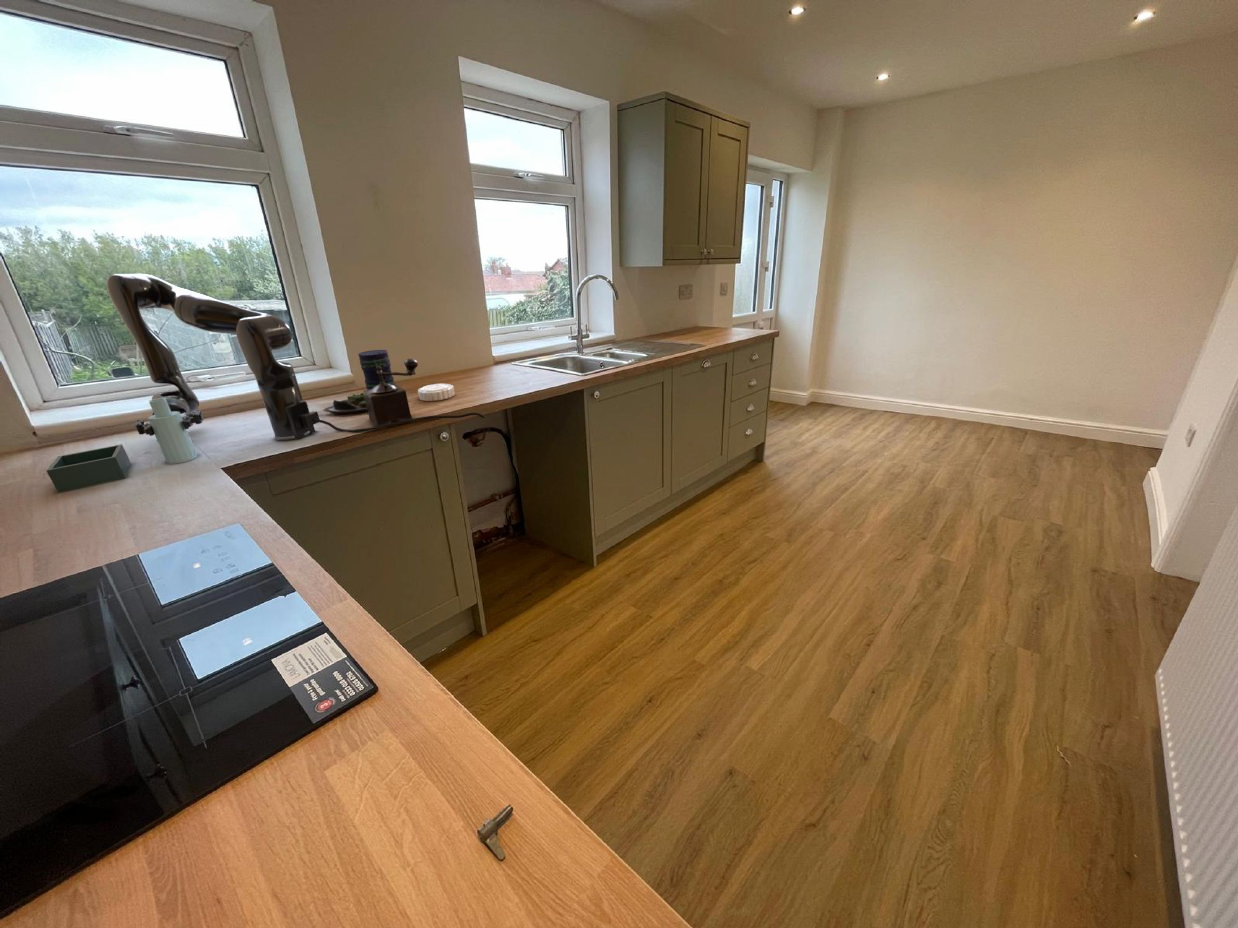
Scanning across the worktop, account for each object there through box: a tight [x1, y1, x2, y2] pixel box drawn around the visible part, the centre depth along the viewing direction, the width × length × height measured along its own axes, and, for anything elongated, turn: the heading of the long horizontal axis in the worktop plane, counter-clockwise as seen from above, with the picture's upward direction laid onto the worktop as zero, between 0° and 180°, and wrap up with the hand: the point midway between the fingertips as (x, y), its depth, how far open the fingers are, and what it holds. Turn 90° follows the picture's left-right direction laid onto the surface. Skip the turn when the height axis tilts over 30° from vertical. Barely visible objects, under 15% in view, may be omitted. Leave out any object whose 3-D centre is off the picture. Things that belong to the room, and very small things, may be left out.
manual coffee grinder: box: [362, 358, 419, 427], centre depth 152 cm, size 16×11×18 cm
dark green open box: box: [45, 443, 132, 493], centre depth 121 cm, size 12×12×6 cm
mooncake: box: [417, 382, 455, 402], centre depth 176 cm, size 12×12×4 cm
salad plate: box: [322, 392, 368, 417], centre depth 168 cm, size 19×18×5 cm
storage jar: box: [357, 349, 396, 390], centre depth 183 cm, size 10×10×15 cm
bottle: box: [147, 398, 198, 465], centre depth 128 cm, size 6×6×16 cm
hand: (168, 428), depth 125 cm, fingers closed on bottle, 6 cm apart
